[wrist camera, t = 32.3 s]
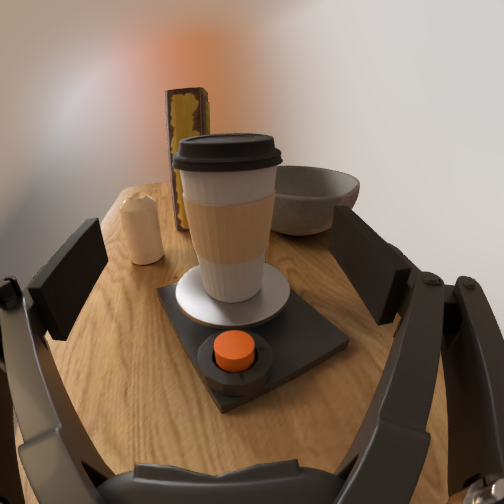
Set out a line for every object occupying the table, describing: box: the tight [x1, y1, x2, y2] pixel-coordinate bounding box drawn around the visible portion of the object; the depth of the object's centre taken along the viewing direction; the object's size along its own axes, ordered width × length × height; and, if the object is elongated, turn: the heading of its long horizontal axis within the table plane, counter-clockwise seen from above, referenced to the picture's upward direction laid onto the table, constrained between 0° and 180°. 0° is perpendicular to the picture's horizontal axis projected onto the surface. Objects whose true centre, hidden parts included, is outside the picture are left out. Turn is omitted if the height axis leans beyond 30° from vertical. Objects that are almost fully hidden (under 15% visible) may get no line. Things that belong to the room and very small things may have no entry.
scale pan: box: [176, 262, 290, 330], centre depth 30 cm, size 12×12×1 cm
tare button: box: [214, 330, 255, 373], centre depth 22 cm, size 3×3×2 cm
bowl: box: [271, 166, 360, 236], centre depth 48 cm, size 20×20×10 cm
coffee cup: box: [172, 133, 283, 303], centre depth 26 cm, size 9×9×15 cm
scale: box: [156, 283, 350, 413], centre depth 29 cm, size 18×14×3 cm
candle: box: [120, 192, 163, 265], centre depth 40 cm, size 6×6×10 cm
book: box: [165, 87, 210, 231], centre depth 54 cm, size 22×8×25 cm, turn 6°
